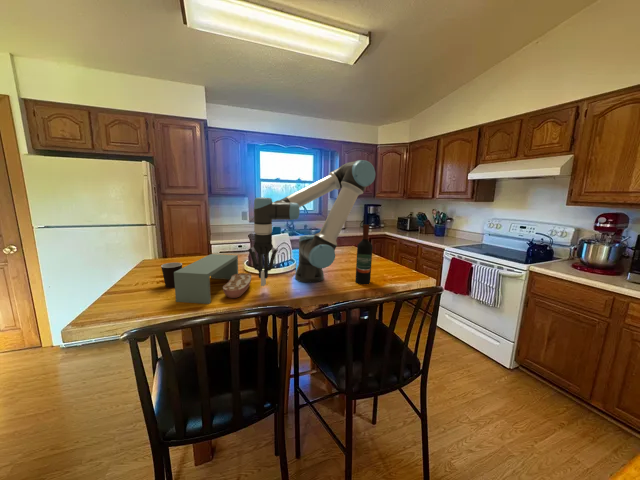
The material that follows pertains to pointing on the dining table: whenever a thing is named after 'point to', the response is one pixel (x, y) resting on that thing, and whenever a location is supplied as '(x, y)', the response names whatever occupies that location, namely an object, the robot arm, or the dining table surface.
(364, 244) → the wine bottle
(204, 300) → the stand
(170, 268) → the coffee mug
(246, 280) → the brown bread loaf
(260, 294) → the dining table surface
